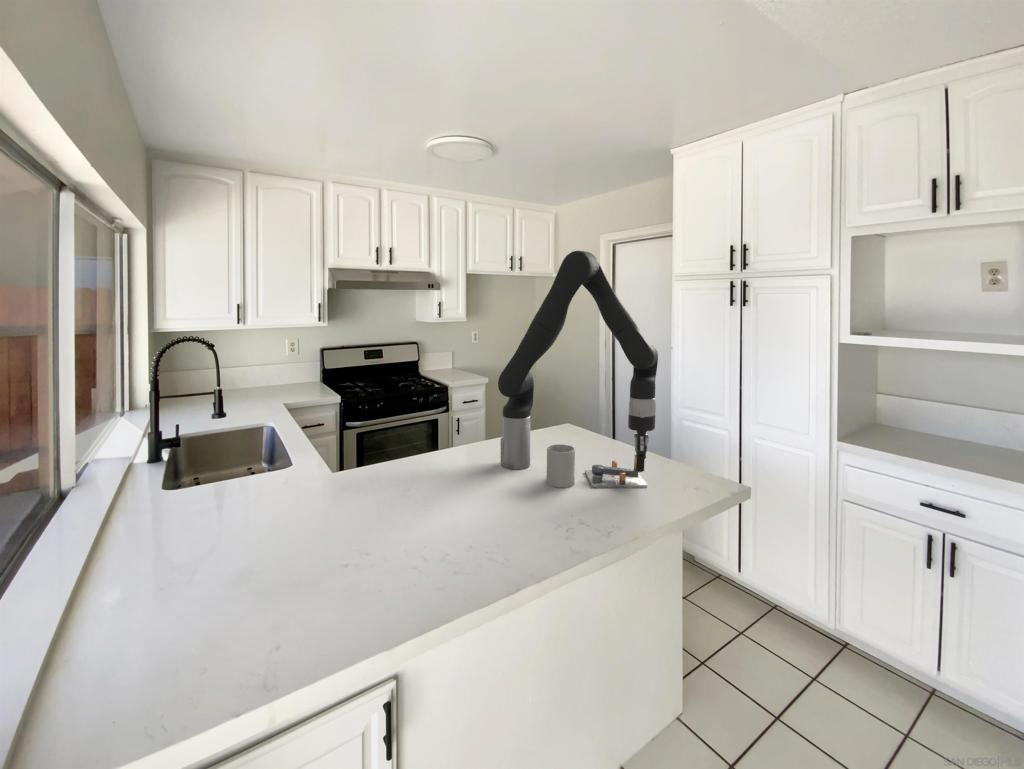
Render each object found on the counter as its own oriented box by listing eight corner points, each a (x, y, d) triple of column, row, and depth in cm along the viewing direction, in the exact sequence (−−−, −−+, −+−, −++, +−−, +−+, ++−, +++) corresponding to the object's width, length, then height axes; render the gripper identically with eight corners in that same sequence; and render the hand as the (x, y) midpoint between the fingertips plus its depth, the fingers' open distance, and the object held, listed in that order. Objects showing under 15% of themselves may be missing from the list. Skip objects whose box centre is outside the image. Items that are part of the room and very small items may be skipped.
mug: (576, 488, 144) (577, 452, 142) (547, 488, 144) (548, 452, 142) (570, 473, 156) (571, 440, 154) (544, 474, 156) (544, 441, 154)
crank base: (591, 487, 144) (592, 474, 144) (584, 472, 157) (585, 460, 157) (647, 487, 145) (647, 474, 144) (635, 472, 158) (636, 460, 157)
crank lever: (591, 473, 149) (591, 453, 148) (592, 469, 153) (593, 449, 152) (642, 479, 145) (643, 457, 144) (642, 474, 148) (643, 454, 147)
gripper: (628, 408, 147) (626, 463, 150) (629, 417, 134) (627, 477, 137) (653, 408, 146) (651, 464, 148) (657, 418, 133) (655, 479, 135)
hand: (640, 470), depth 143 cm, fingers closed
